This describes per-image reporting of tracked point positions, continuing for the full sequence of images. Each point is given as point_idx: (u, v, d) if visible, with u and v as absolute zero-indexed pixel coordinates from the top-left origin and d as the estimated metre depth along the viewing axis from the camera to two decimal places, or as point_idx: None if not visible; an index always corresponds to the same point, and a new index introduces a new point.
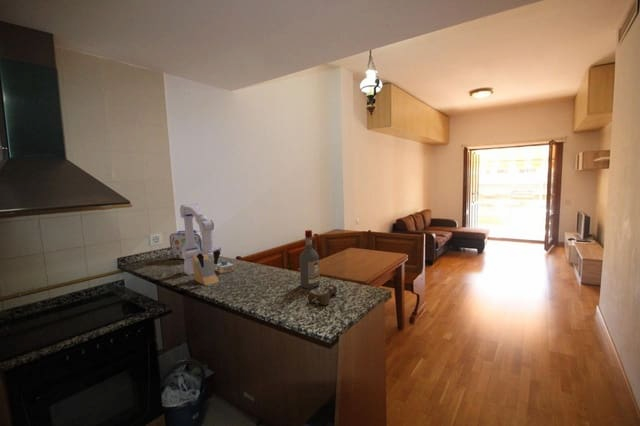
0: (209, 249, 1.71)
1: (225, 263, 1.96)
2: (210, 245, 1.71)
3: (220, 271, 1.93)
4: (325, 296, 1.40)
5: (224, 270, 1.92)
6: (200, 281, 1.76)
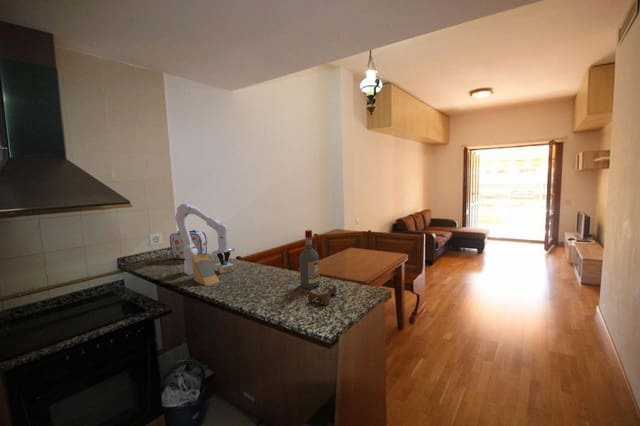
0: (224, 249, 1.94)
1: (225, 263, 1.96)
2: (225, 246, 1.94)
3: (220, 271, 1.93)
4: (325, 296, 1.40)
5: (224, 270, 1.92)
6: (200, 281, 1.75)
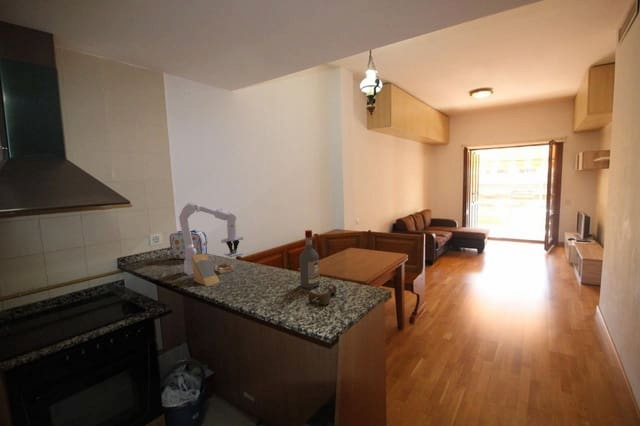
0: (233, 238, 2.00)
1: (234, 252, 2.02)
2: (234, 234, 2.00)
3: (220, 271, 1.93)
4: (325, 296, 1.40)
5: (224, 270, 1.92)
6: (201, 282, 1.75)
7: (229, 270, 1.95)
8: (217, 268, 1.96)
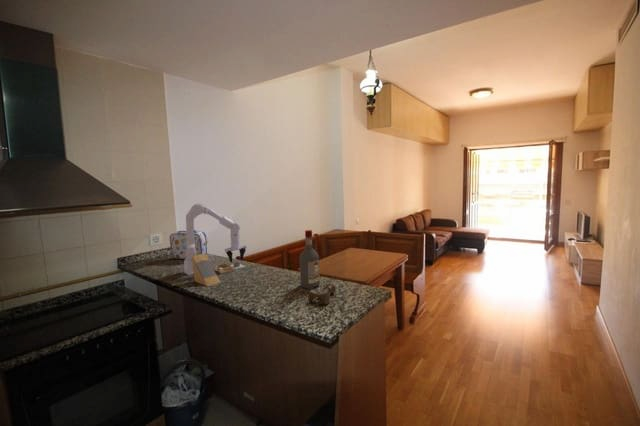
0: (237, 247, 2.03)
1: (237, 265, 2.05)
2: (237, 243, 2.03)
3: (220, 271, 1.93)
4: (326, 295, 1.41)
5: (224, 270, 1.92)
6: (201, 282, 1.74)
7: (229, 270, 1.95)
8: (217, 268, 1.96)
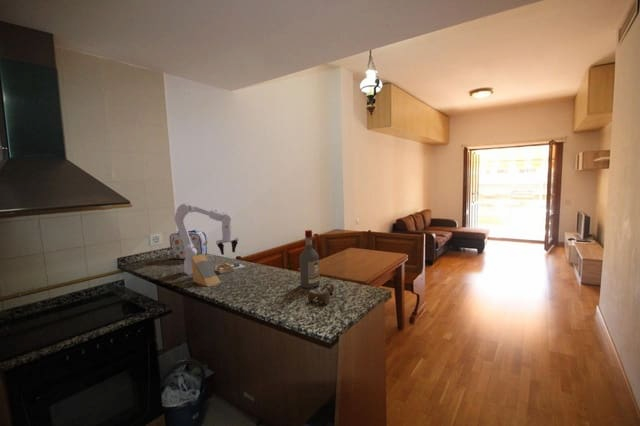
0: (228, 239, 1.97)
1: (237, 265, 2.05)
2: (229, 235, 1.98)
3: (220, 271, 1.93)
4: (326, 295, 1.41)
5: (224, 270, 1.92)
6: (201, 282, 1.73)
7: (229, 270, 1.95)
8: (217, 268, 1.96)
